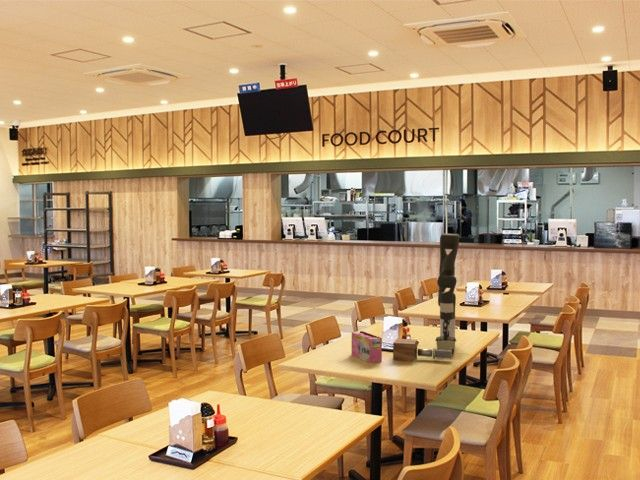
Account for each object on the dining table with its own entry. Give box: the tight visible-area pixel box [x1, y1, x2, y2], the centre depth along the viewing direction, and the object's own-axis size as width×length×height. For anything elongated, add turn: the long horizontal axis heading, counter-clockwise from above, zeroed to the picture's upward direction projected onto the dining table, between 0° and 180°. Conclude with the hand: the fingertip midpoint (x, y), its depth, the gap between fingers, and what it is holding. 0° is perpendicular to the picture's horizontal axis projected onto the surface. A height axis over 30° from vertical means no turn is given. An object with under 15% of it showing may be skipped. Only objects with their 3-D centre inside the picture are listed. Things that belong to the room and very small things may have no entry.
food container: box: [434, 335, 457, 356], centre depth 392 cm, size 12×6×10 cm, turn 84°
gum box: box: [351, 330, 383, 364], centre depth 383 cm, size 24×8×14 cm, turn 26°
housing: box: [392, 338, 418, 363], centre depth 381 cm, size 12×12×10 cm
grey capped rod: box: [417, 347, 453, 360], centre depth 376 cm, size 6×19×6 cm, turn 73°
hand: (446, 338), depth 374 cm, fingers open, 8 cm apart
